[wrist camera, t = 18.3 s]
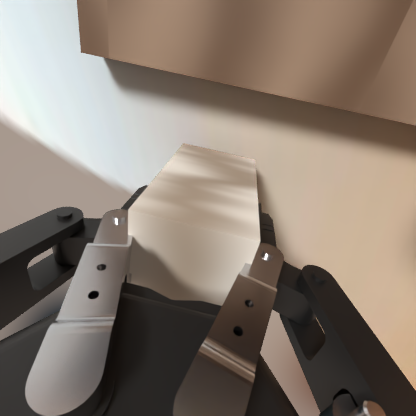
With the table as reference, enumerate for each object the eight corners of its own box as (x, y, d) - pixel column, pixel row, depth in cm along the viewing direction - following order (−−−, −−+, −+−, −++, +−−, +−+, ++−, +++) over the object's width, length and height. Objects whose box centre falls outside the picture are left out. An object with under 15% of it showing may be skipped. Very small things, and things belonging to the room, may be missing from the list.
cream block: (255, 159, 15) (260, 241, 8) (237, 219, 17) (229, 322, 10) (183, 143, 15) (128, 209, 8) (175, 205, 17) (127, 296, 10)
